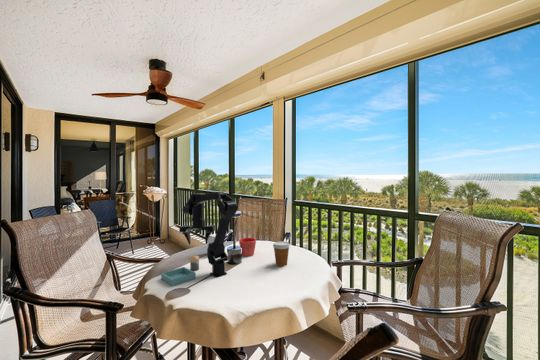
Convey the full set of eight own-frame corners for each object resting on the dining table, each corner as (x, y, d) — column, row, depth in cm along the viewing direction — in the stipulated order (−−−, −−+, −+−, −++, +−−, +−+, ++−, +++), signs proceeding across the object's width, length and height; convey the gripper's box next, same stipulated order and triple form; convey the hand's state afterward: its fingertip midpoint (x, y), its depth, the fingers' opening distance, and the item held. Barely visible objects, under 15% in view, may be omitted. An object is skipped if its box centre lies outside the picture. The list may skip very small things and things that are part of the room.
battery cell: (200, 269, 134) (200, 256, 134) (192, 271, 131) (192, 258, 131) (196, 267, 137) (196, 254, 137) (188, 269, 134) (188, 256, 134)
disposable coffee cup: (270, 266, 138) (270, 244, 138) (276, 260, 147) (276, 240, 147) (286, 268, 135) (286, 246, 135) (292, 262, 144) (291, 242, 144)
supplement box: (214, 257, 156) (214, 236, 156) (206, 254, 160) (206, 235, 160) (223, 254, 161) (223, 234, 161) (215, 252, 166) (215, 233, 166)
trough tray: (195, 278, 121) (195, 272, 121) (172, 286, 113) (172, 279, 113) (184, 272, 129) (184, 266, 129) (161, 279, 121) (161, 273, 121)
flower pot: (255, 257, 154) (255, 241, 154) (238, 257, 154) (238, 241, 154) (256, 252, 165) (256, 237, 165) (240, 252, 165) (240, 237, 165)
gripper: (217, 213, 145) (218, 240, 145) (186, 214, 145) (186, 240, 145) (213, 216, 134) (213, 245, 134) (178, 216, 134) (179, 245, 134)
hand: (198, 244), depth 137 cm, fingers open, 9 cm apart
